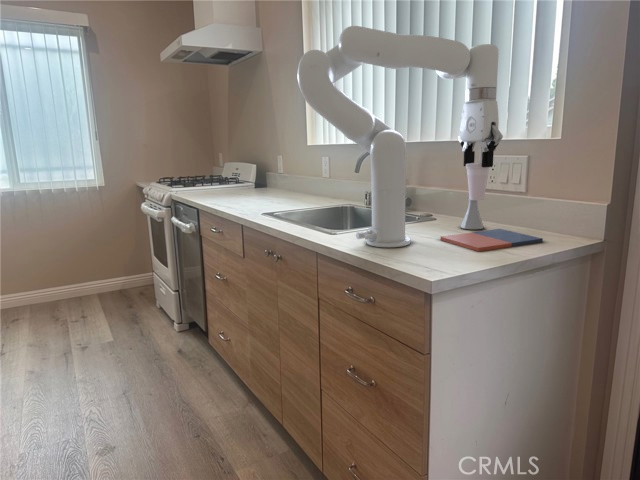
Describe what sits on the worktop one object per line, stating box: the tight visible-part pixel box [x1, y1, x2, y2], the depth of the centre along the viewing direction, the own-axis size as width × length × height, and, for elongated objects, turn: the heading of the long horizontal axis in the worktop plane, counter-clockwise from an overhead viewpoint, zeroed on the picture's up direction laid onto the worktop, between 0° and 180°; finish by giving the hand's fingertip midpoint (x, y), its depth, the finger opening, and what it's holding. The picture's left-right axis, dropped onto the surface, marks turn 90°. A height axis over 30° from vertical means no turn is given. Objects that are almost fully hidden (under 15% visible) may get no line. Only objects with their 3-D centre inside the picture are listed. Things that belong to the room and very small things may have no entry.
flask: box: [460, 196, 484, 230], centre depth 140 cm, size 7×7×10 cm
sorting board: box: [440, 228, 544, 252], centre depth 122 cm, size 22×16×1 cm
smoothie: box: [465, 146, 490, 201], centre depth 116 cm, size 6×6×14 cm
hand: (477, 166), depth 116 cm, fingers closed on smoothie, 6 cm apart
